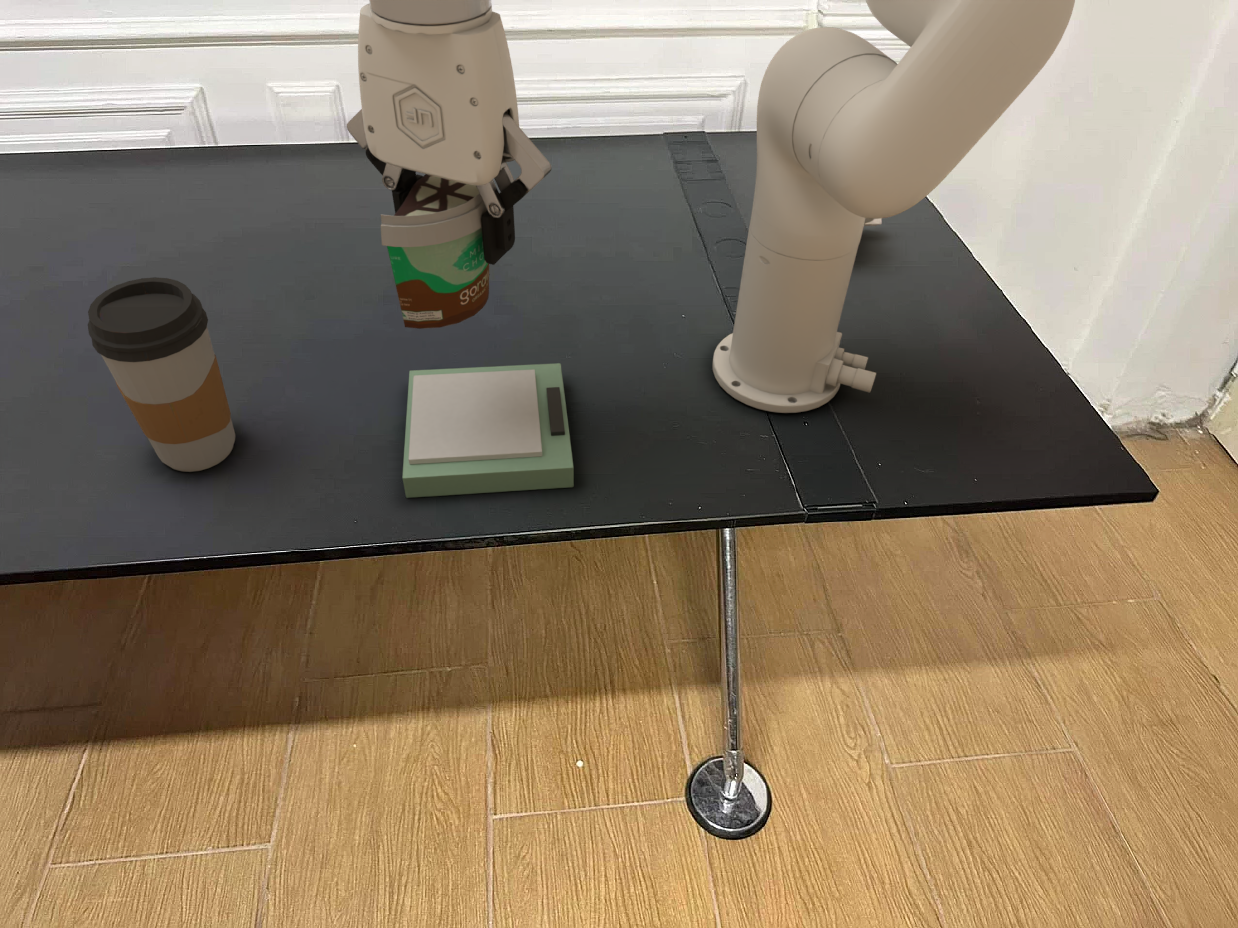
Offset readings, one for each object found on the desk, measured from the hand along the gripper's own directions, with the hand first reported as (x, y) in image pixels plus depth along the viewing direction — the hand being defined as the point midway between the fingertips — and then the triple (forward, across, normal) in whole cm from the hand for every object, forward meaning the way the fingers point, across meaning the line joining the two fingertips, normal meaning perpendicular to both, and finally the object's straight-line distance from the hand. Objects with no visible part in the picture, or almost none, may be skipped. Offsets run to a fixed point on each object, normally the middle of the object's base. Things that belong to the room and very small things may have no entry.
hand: (456, 242), depth 68 cm
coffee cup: (+19, -20, -13) cm, 31 cm away
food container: (+5, 0, 0) cm, 5 cm away
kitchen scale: (+19, +2, -1) cm, 19 cm away
